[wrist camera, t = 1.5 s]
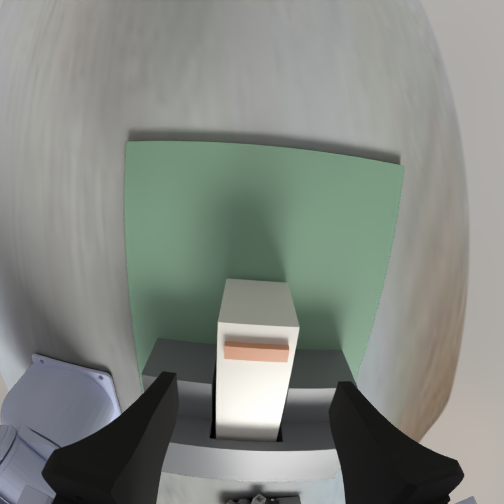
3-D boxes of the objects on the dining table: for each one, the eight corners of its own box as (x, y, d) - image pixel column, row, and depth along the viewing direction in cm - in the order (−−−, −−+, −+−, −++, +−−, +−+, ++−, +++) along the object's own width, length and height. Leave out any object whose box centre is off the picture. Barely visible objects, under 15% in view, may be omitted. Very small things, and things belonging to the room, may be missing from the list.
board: (146, 400, 25) (145, 404, 24) (129, 141, 18) (126, 141, 17) (340, 412, 25) (341, 416, 25) (400, 165, 18) (404, 166, 18)
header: (167, 404, 25) (148, 469, 18) (159, 333, 22) (128, 401, 15) (320, 413, 25) (334, 478, 18) (340, 345, 23) (368, 414, 15)
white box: (221, 390, 23) (215, 447, 17) (226, 278, 20) (216, 326, 14) (271, 393, 23) (275, 450, 17) (288, 282, 20) (300, 332, 14)
